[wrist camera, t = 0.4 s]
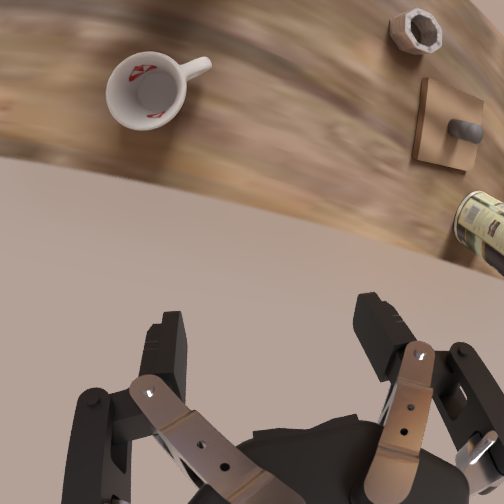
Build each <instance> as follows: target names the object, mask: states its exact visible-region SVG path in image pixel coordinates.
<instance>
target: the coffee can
mask: <svg viewBox="0 0 504 504" xmlns="http://www.w3.org/2000/svg"><path fill="white" fill-rule="evenodd" d="M454 232H455V236H456V238H457V240H458V241H459V242H460V243H462V244H464V245H465V246H466V247H468V248H469V249H470V250H472V251H473V252H474V253H476V254H477V255H478V256H479V257H481V258H482V259H483V260H484V261H486V262H487V263H488V264H489V265H490V266H492V267H493V268H494V269H495V270H496V271H498V272H499V273H500V274H501V275H502V276H504V203H502V202H500V201H498V200H497V199H495V198H493V197H491V196H489V195H487V194H486V193H484V192H482V191H475V192H472V193H471V194H469V195H468V196H467V197H466V198H465V199H464V200H463V201H462V203H461V204H460V206H459V208H458V210H457V213H456V216H455V221H454Z"/></svg>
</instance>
